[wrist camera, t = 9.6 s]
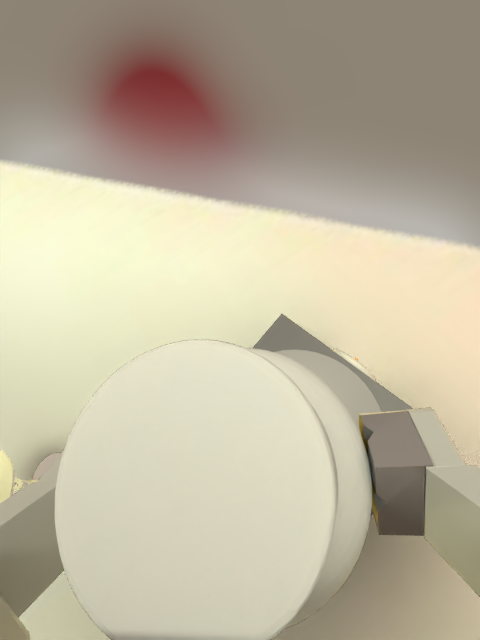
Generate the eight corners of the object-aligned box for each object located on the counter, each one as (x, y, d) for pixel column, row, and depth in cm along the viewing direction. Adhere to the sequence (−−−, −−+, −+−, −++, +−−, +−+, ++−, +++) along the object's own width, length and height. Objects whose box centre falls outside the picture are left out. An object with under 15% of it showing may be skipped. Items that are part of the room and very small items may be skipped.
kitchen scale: (191, 445, 28) (165, 443, 24) (292, 325, 29) (285, 303, 25) (313, 574, 23) (310, 602, 19) (426, 423, 25) (447, 417, 20)
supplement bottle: (305, 370, 15) (274, 236, 6) (382, 504, 12) (528, 635, 3) (191, 430, 15) (-16, 393, 6) (245, 574, 13) (47, 868, 4)
